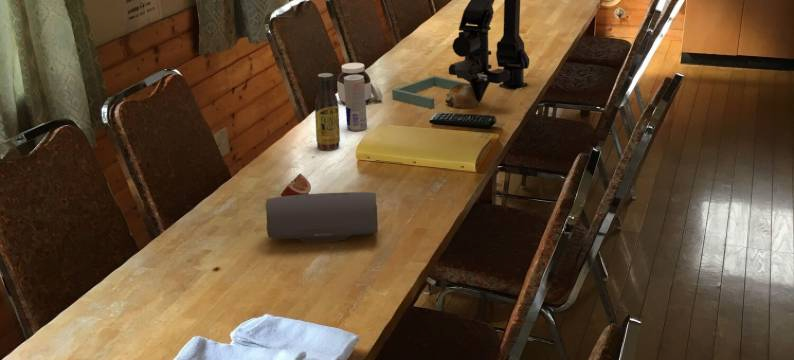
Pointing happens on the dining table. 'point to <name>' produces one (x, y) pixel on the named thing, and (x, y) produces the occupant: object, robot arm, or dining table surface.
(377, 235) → the dining table surface
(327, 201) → the bluetooth speaker
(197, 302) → the dining table surface
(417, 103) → the teal u-shaped frame
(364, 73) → the spread jar
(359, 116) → the beverage can
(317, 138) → the sauce bottle
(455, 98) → the bread roll
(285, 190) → the fruit slice
